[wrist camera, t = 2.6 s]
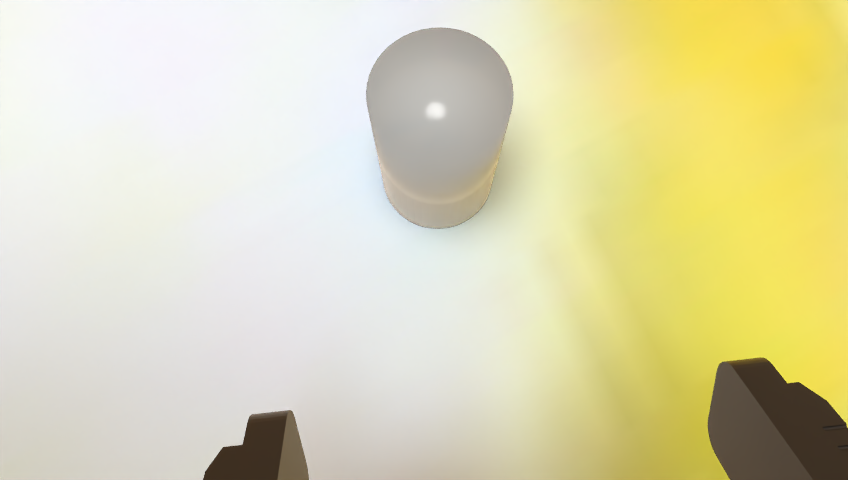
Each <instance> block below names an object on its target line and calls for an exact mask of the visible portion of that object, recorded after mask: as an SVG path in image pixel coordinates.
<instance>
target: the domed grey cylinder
mask: <svg viewBox="0 0 848 480" xmlns="http://www.w3.org/2000/svg"><path fill="white" fill-rule="evenodd" d="M366 100H367V106H368V112H369V116H370V121H371V126H372V131H373V136H374V140H375V145H376V150H377V155H378V160H379V165H380V169H381V174H382V179H383V184H384V189H385V192H386V195H387V197H388V199H389V201H390V203H391V204H392V206H393V207H394V209H395V210H396V211H397V212H398V213H399V214H400V215H401V216H403V217H404V218H405V219H407V220H408V221H410V222H412V223H414V224H416V225H419V226H422V227H427V228H435V229H440V228H449V227H453V226H456V225H459V224H461V223H463V222H465V221H467V220H468V219H470V218H471V217H473V216H474V215H475V214H476V213H477V212H478V211H479V210H480V209H481V208H482V206H483V205H484V203H485V201H486V200H487V198H488V195H489V192H490V189H491V185H492V182H493V178H494V174H495V170H496V166H497V163H498V159H499V155H500V151H501V148H502V144H503V140H504V136H505V132H506V129H507V125H508V121H509V117H510V114H511V109H512V104H513V84H512V80H511V76H510V74H509V71H508V68H507V67H506V65H505V63H504V61H503V60H502V58H501V57H500V56H499V54H498V53H497V52H496V51H495V50H494V49H493V48H492V47H491V46H490V45H488V44H487V43H486V42H485V41H483V40H481V39H480V38H478V37H476V36H474V35H472V34H470V33H467V32H464V31H461V30H456V29H451V28H429V29H423V30H419V31H416V32H412V33H410V34H408V35H405V36H403V37H402V38H400V39H398V40H396V41H395V42H394V43H392V44H391V45H390V46H389V47H388V48H387V49H386V50H385V51H384V52H383V53H382V54H381V55H380V56H379V58H378V59H377V61H376V62H375V64H374V66H373V68H372V70H371V72H370V75H369V79H368V82H367V90H366Z"/></svg>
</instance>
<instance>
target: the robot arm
mask: <svg viewBox="0 0 848 480" xmlns="http://www.w3.org/2000/svg"><path fill="white" fill-rule="evenodd" d="M708 432H709V437H710V441H711V445H712V447H713V450H714V452H715V454H716V456H717V458H718V459H719V461H720V463H721V465H722V466H723V468H724V470H725V472H726V473H727V475H728V477H729V478H730V480H848V428H847V426H846V423H845V422H844V421H843V419H842V418H841V417H840V416H839V415H838V414H837V412H836V411H835V410H834V409H833V408H832V406H831V405H830V404H829V403H828V402H827V401H826V400H825V399H823V398H822V397H820V396H819V395H817V394H816V393H814V392H813V391H811V390H810V389H808V388H807V387H805V386H804V385H802V384H801V383H799V382H796V383H788V384H787V382H786V381H785V380H784V379H783V377H782V376H781V375H780V374H779V372H778V371H777V370H776V369H775V367H774V366H773V365H772V364H771V363H770V362H769V361H768V360H767V359H765V358H753V359H744V360H736V361H727V362H722V363H720V365H719V366H718V369H717V373H716V379H715V384H714V390H713V395H712V401H711V406H710V412H709V417H708ZM203 480H309V477H308V469H307V464H306V460H305V456H304V452H303V448H302V444H301V441H300V437H299V433H298V429H297V425H296V421H295V417H294V414H293V412H292V411H291V410H288V411H279V412H271V413H262V414H253V415H251V416H250V417H249V420H248V423H247V428H246V432H245V437H244V441H243V445H238V446H230V447H223V448H222V449H221V451H220V452H219V453H218V455H217V456H216V458H215V459H214V460H213V462H212V463H211V464H210V466H209V467H208V469H207V470H206V471H205V475H204V478H203Z"/></svg>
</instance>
